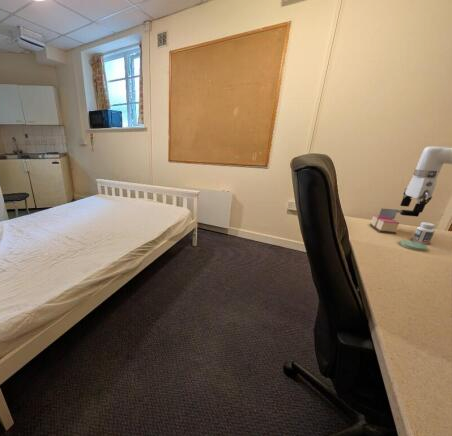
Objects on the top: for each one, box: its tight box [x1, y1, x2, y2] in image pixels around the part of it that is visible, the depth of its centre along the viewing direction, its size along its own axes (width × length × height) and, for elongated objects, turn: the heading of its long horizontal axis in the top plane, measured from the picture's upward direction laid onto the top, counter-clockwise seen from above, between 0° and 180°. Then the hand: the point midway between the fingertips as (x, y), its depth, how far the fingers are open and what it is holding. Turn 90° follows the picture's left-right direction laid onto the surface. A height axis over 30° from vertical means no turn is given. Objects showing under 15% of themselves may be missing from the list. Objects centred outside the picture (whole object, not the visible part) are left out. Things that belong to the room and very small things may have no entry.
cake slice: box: [370, 214, 387, 226], centre depth 117 cm, size 6×4×5 cm
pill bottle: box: [412, 221, 435, 245], centre depth 100 cm, size 5×5×9 cm
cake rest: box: [376, 218, 400, 233], centre depth 112 cm, size 6×4×5 cm
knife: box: [378, 207, 421, 220], centre depth 111 cm, size 14×2×5 cm, turn 70°
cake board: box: [369, 222, 397, 235], centre depth 115 cm, size 6×11×1 cm, turn 160°
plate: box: [399, 239, 428, 252], centre depth 97 cm, size 8×8×1 cm
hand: (410, 208), depth 108 cm, fingers open, 9 cm apart
